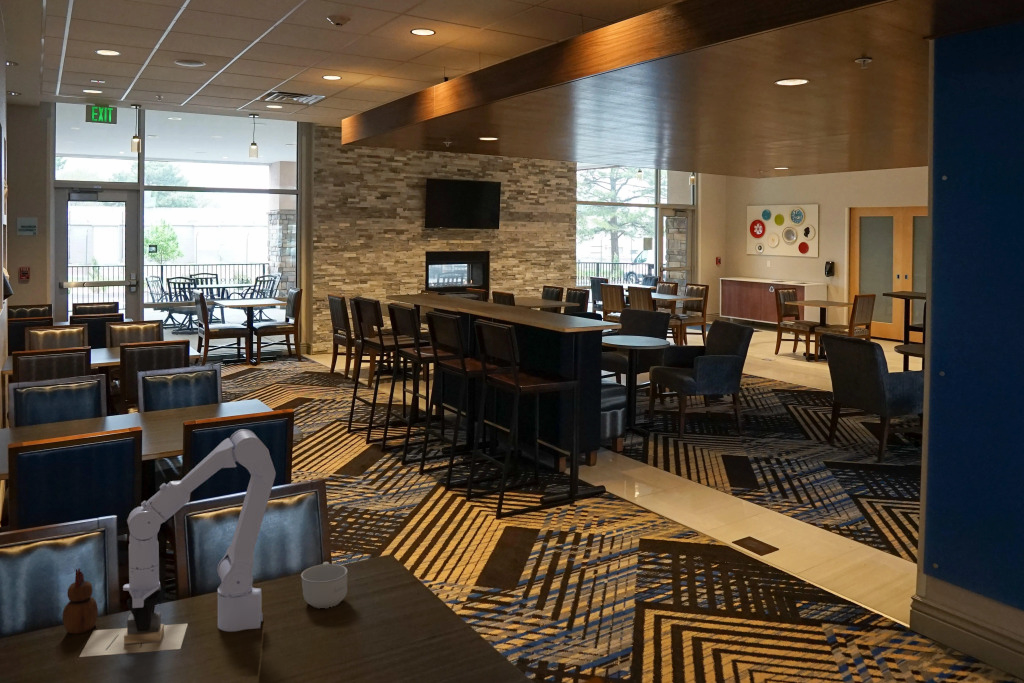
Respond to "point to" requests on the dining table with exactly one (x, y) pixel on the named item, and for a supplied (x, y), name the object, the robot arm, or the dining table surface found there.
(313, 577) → the teacup
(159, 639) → the block
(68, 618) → the wooden figurine
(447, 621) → the dining table surface
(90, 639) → the board
